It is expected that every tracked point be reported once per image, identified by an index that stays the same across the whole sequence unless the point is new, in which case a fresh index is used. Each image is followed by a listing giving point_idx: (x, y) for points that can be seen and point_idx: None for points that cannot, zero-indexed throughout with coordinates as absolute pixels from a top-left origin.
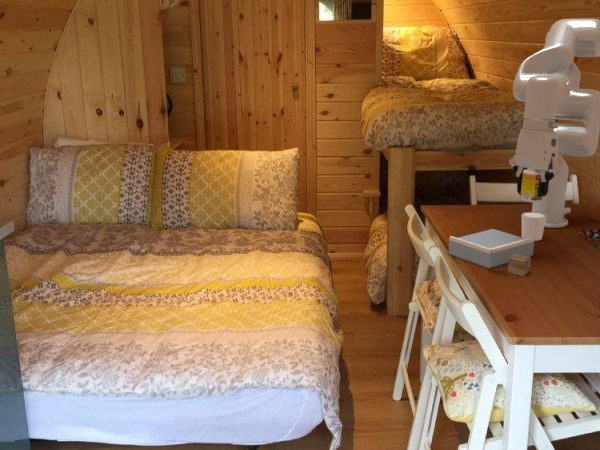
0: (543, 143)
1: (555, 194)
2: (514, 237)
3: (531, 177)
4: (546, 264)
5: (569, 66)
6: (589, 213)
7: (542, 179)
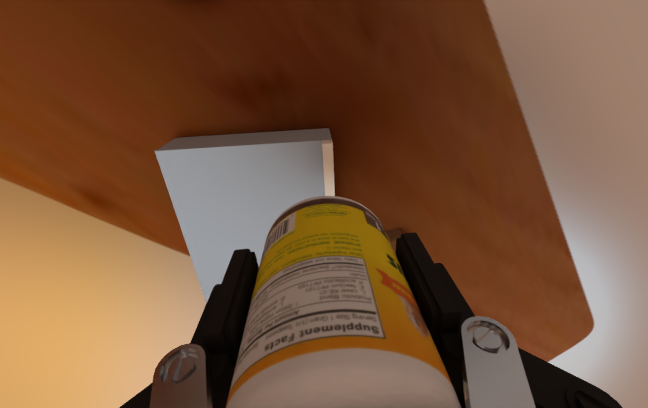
0: None
1: None
2: (269, 164)
3: None
4: (397, 157)
5: None
6: None
7: (462, 399)
